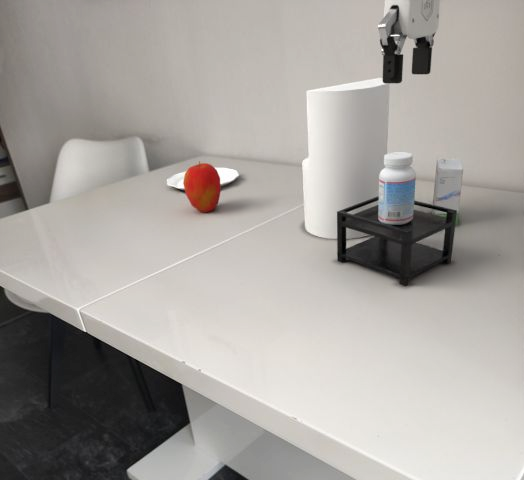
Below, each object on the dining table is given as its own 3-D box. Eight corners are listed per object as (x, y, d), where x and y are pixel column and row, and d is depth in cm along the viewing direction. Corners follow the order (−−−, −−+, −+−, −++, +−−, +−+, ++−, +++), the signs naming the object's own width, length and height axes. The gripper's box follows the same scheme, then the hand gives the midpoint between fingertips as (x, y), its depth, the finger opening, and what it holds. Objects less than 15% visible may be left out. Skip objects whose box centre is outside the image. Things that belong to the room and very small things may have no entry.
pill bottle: (419, 218, 96) (424, 152, 89) (400, 228, 92) (403, 161, 86) (390, 212, 99) (393, 149, 93) (370, 222, 96) (372, 157, 90)
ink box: (457, 225, 112) (464, 168, 106) (433, 225, 113) (438, 169, 107) (454, 212, 119) (460, 157, 113) (431, 212, 120) (436, 158, 114)
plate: (155, 193, 151) (153, 187, 150) (186, 172, 168) (185, 167, 167) (223, 194, 145) (222, 188, 144) (249, 173, 161) (248, 167, 160)
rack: (451, 262, 98) (457, 210, 93) (404, 286, 91) (408, 231, 86) (383, 241, 109) (384, 193, 103) (337, 261, 102) (336, 211, 97)
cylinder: (401, 225, 115) (409, 80, 100) (335, 245, 109) (333, 94, 94) (351, 206, 128) (352, 75, 113) (290, 223, 122) (282, 87, 107)
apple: (197, 203, 140) (189, 156, 133) (229, 204, 137) (223, 156, 131) (182, 216, 133) (173, 166, 126) (215, 217, 130) (209, 166, 123)
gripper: (408, -53, 72) (401, 87, 82) (462, -54, 83) (451, 70, 92) (360, -46, 77) (359, 86, 86) (417, -47, 87) (411, 71, 96)
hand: (406, 78), depth 89 cm, fingers open, 9 cm apart
